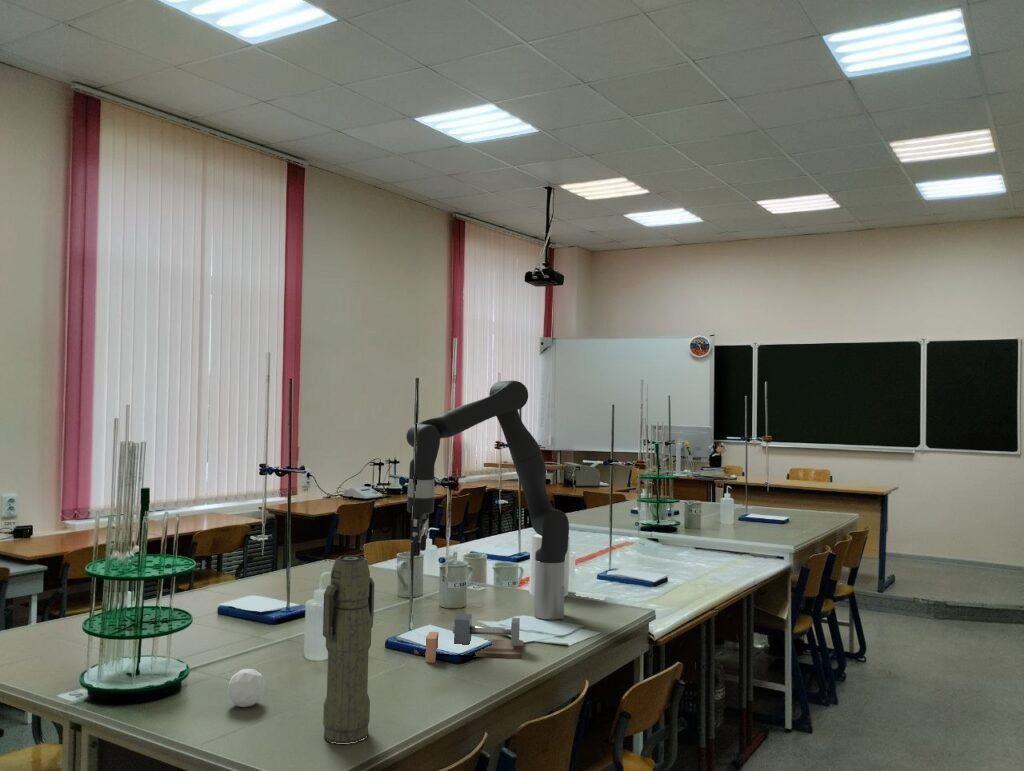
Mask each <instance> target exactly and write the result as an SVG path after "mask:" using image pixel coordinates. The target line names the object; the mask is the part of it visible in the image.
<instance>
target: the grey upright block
mask: <svg viewBox="0 0 1024 771" xmlns="http://www.w3.org/2000/svg"><path fill="white" fill-rule="evenodd" d="M472 620H473V614H472V613H456V616H455V617H454V625H453V626H454V633H453V635H454V637H453V638H454V644H462V645H469V644H470V641H471V638H472V634H470V626H472V624H473V621H472Z"/></svg>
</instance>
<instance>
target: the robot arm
mask: <svg viewBox="0 0 1024 771" xmlns="http://www.w3.org/2000/svg"><path fill="white" fill-rule="evenodd" d="M528 399H529V391H528V388H527V387H526V385H525V384H524V383H522V382H520V381H518V380H506V381H505V380H503V381H497V382H495V383H494V384H492V386H491V387H490V389H489V394H488V396H486V397H484V398H482V399H479V400H476V401H472V402H469V403H467V404H466V403H465V404H463V405H460V406H457V407H455V408H452V409H451V410H448V411H446V412H444V413H442V414H441V415H438V416H434V417H432V418H431V417H430V418H429V419H426V420H425V419H424V420H422V421H420V422H417V423H416V424H417V444H416V446H417V448H416V453H415V457H416V458H415V457H414V458H415V460H416V473H415V475H414V458H412V459H411V460H410V463H409V471H408V472H409V473H408V475H409V476H408V485H407V498H406V499H407V504H406V511H407V512H408V513H410V514H414V515H413V518H411V519H410V534H409V542H411V556H412V557H420V555H421V551H422V552H423V551H426V550H427V537H428V535H429V532H430V531H429V528H430V527H429V526H430V525H429V524H430V522H429V521H430V514H432V513H434V511H435V495H436V494H435V491H436V490H435V464H436V461H437V457H438V454H439V451H440V450H439V448H440V445H441V439H448V438H451V437H454V436H456V435H458V434H461V433H462V432H464V431H466V430H468V429H471V428H473V427H475V426H476V425H478V424H481V423H483V422H485V421H487V420H490V419H492V418H495V417H496V419H497V421H498V423H499V426H500V427H501V430H502V433H503V435H504V439H505V441H506V442H505V443H506V444H507V447H508V450H509V452H510V455H511V456H510V457H511V460H512V462H513V463H512V464H513V466H514V469H515V471H516V475H517V477H518V480H519V482H520V486H521V488H522V489H521V490H523V494H524V497H525V500H526V503H527V507H528V513H529V519H530V522H531V526H532V528H533V530H534V531H535V532H536V533H537V534H539V535H541V536H542V544H541V548H540V549H538V550H537V551H536V553H535V590H534V595H533V598H534V600H533V616H534V617H535V618H537V619H540V618H541V620H546V619H548V621H551V620H553V621H554V620H555V621H556V620H561V619H562V620H564V619H565V596H564V590H565V588H564V577H565V555H566V553H567V550H568V539H569V535H570V522H569V517H568V516H567V514H566V513H565V512H563V510H560V509H557V508H554V507H553V505H552V504H551V500H550V498H549V495H548V493H547V486H546V481H547V468H546V463H545V458H544V455H543V453H542V450H541V447H540V445H539V443H538V441H537V440H536V439H535V438H534V436H533V435H532V433H530V431H529V430H528V429H527V427H526V426H525V424H524V423H523V421H522V419H521V415H520V413H519V410H521V409H523V407H524V406H526V404H527V402H528ZM414 428H415V424H413V425H411V426H410V427H409V429H408V431H407V432H406V441H407V443H408V444H409V445H410V447H412V448H414ZM413 476H414V478H415V477H417V479H416V480H417V485H416V491H414V493H415V512H414V506H413ZM412 506H413V513H412ZM412 519H413V522H412ZM535 532H534V533H535Z"/></svg>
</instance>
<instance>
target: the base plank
mask: <svg viewBox="0 0 1024 771" xmlns="http://www.w3.org/2000/svg"><path fill="white" fill-rule="evenodd" d="M483 639H484V640H488V641H491V642H492V645H491V646H488V647H486V648H484V649H481V650H480V651H477V652H475V655H476V656H475V657H477V658H480V657H481V658H503V659H505V658H506V659H507V658H508V659H522V658H523V648H524V640H523V639H522V640H520V639H519V646H511V639H499V638H498V639H495V638H494V639H493V638H492V639H491V638H483ZM413 652H414V653H413V654H414V655H420V654H419V652H418V651H417V650H415V649H414V651H413Z"/></svg>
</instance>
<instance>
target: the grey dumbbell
mask: <svg viewBox="0 0 1024 771" xmlns="http://www.w3.org/2000/svg"><path fill="white" fill-rule="evenodd" d="M520 620H521V619H520V617H512V619H511V627H505V626H504V627H501V626H500V627H498V626H497V627H496V626H474V625H473V626H470V634H471V635H480V636H481V635H484V636H487V635H489V636H510V640H511V646H519V640H520V624H521V623H520ZM454 626H455V625H453V626H452V627H453V628H452V634H454Z"/></svg>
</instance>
